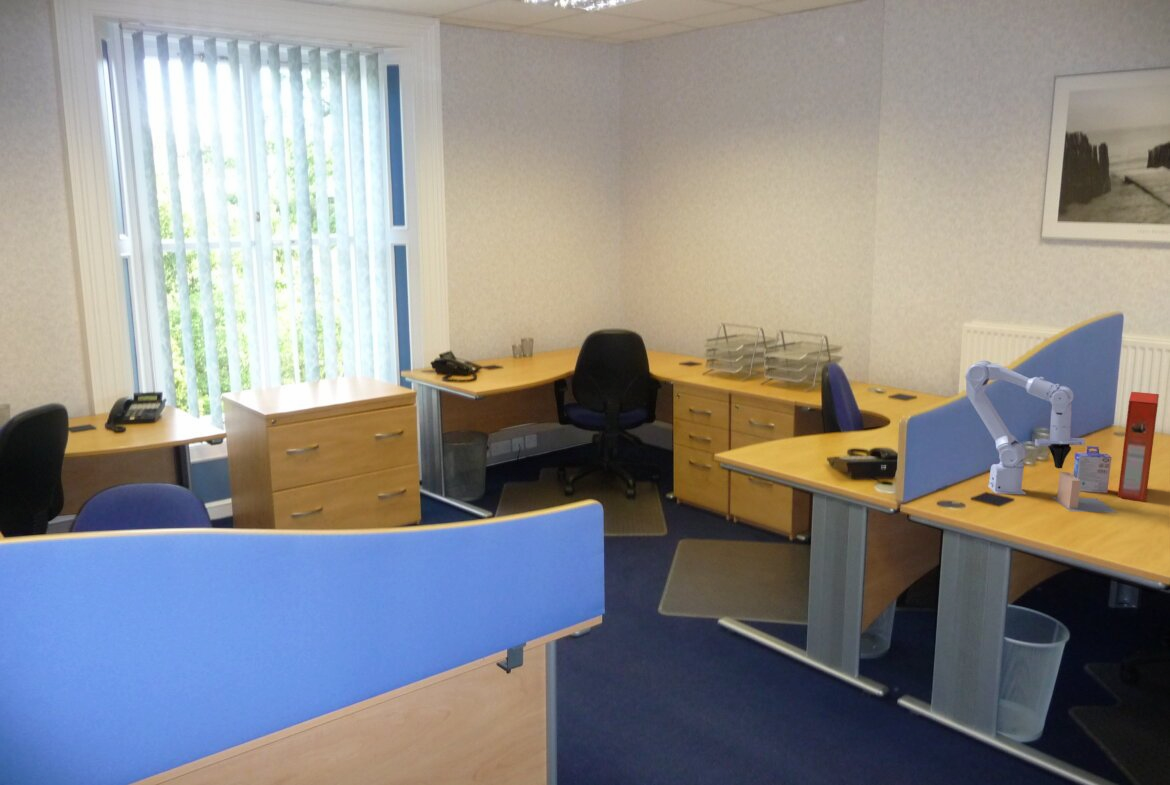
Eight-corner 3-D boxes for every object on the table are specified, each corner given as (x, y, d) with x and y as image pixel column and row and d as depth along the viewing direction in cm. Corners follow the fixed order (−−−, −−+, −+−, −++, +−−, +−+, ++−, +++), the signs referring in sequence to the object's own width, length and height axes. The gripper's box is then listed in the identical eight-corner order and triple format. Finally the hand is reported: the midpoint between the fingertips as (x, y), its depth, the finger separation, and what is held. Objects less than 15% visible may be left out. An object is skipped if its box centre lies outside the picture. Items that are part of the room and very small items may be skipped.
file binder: (1116, 497, 298) (1129, 400, 291) (1119, 484, 312) (1131, 391, 306) (1145, 502, 293) (1159, 403, 287) (1147, 488, 308) (1160, 394, 301)
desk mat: (1069, 512, 283) (1070, 511, 283) (1051, 497, 297) (1051, 496, 297) (1117, 513, 282) (1117, 512, 282) (1096, 499, 296) (1096, 498, 296)
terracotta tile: (1069, 508, 286) (1072, 480, 284) (1057, 499, 294) (1060, 472, 293) (1077, 508, 285) (1081, 480, 284) (1065, 499, 294) (1068, 472, 292)
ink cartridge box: (1102, 488, 307) (1108, 446, 304) (1108, 493, 302) (1113, 450, 299) (1070, 486, 309) (1075, 444, 306) (1075, 491, 304) (1080, 448, 301)
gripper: (1042, 428, 288) (1040, 471, 290) (1090, 427, 287) (1088, 470, 289) (1032, 424, 295) (1030, 465, 297) (1079, 423, 294) (1077, 464, 296)
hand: (1058, 467), depth 293 cm, fingers closed
